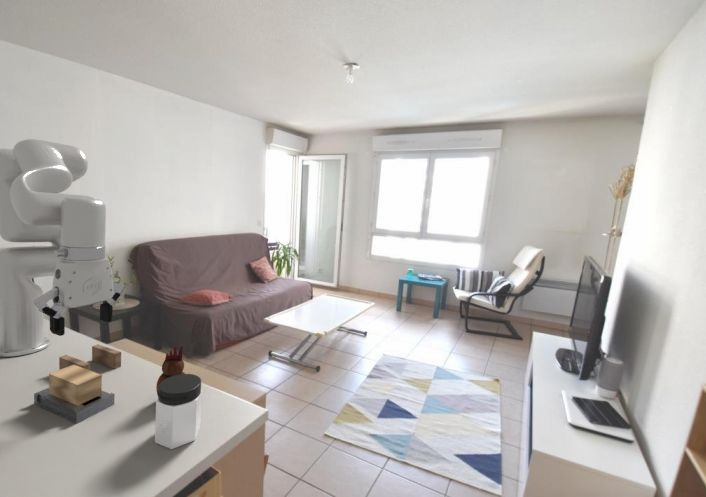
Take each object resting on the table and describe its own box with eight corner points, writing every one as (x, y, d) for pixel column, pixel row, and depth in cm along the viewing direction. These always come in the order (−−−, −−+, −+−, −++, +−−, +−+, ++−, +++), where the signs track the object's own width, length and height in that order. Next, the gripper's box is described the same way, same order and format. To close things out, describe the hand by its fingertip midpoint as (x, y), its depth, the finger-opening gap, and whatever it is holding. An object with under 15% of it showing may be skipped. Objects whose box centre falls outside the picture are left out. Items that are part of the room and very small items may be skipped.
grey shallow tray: (34, 404, 75) (34, 393, 74) (73, 387, 82) (73, 377, 82) (76, 423, 70) (76, 412, 69) (114, 404, 77) (114, 394, 77)
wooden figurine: (191, 396, 83) (193, 341, 81) (177, 410, 77) (179, 351, 76) (167, 392, 84) (169, 338, 82) (151, 405, 78) (152, 347, 76)
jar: (145, 440, 67) (147, 387, 66) (177, 418, 75) (179, 369, 73) (179, 454, 64) (181, 398, 63) (208, 429, 72) (211, 379, 71)
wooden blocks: (59, 372, 88) (59, 357, 87) (97, 358, 97) (97, 344, 97) (83, 382, 85) (83, 366, 84) (120, 366, 94) (121, 352, 93)
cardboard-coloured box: (49, 393, 75) (49, 373, 74) (73, 383, 79) (73, 364, 79) (77, 405, 72) (77, 384, 71) (101, 394, 76) (101, 374, 76)
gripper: (46, 260, 61) (47, 344, 63) (133, 252, 78) (132, 319, 80) (22, 254, 64) (24, 336, 66) (112, 248, 80) (111, 313, 82)
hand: (83, 327), depth 73 cm, fingers open, 9 cm apart
